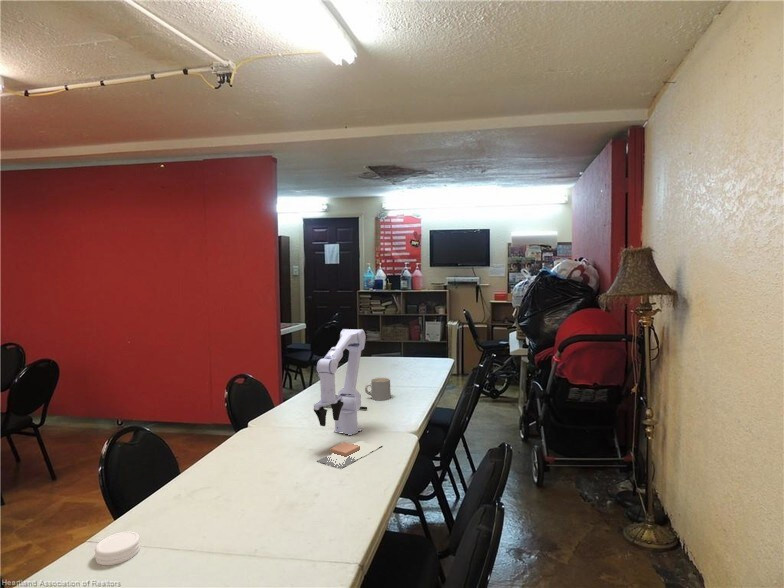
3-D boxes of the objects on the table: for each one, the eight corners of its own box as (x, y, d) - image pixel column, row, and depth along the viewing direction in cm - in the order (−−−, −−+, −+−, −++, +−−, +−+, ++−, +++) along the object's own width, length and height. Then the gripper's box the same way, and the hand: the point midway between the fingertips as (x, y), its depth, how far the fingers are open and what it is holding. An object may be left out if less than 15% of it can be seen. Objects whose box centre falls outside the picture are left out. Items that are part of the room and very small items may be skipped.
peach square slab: (330, 448, 183) (345, 453, 178) (344, 441, 189) (359, 445, 184) (330, 453, 183) (346, 457, 178) (344, 446, 189) (360, 450, 184)
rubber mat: (316, 461, 176) (316, 460, 176) (359, 440, 195) (359, 440, 195) (341, 469, 169) (341, 468, 169) (382, 446, 188) (382, 445, 188)
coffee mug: (391, 395, 261) (391, 377, 260) (389, 400, 251) (388, 381, 250) (367, 395, 262) (366, 377, 262) (364, 400, 252) (363, 382, 252)
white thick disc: (86, 562, 120) (85, 548, 120) (121, 540, 129) (120, 527, 129) (115, 570, 116) (114, 556, 116) (149, 547, 126) (148, 534, 125)
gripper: (322, 394, 181) (324, 430, 182) (347, 385, 193) (349, 419, 194) (309, 392, 185) (310, 427, 186) (334, 383, 197) (336, 416, 198)
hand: (329, 422), depth 190 cm, fingers open, 7 cm apart
